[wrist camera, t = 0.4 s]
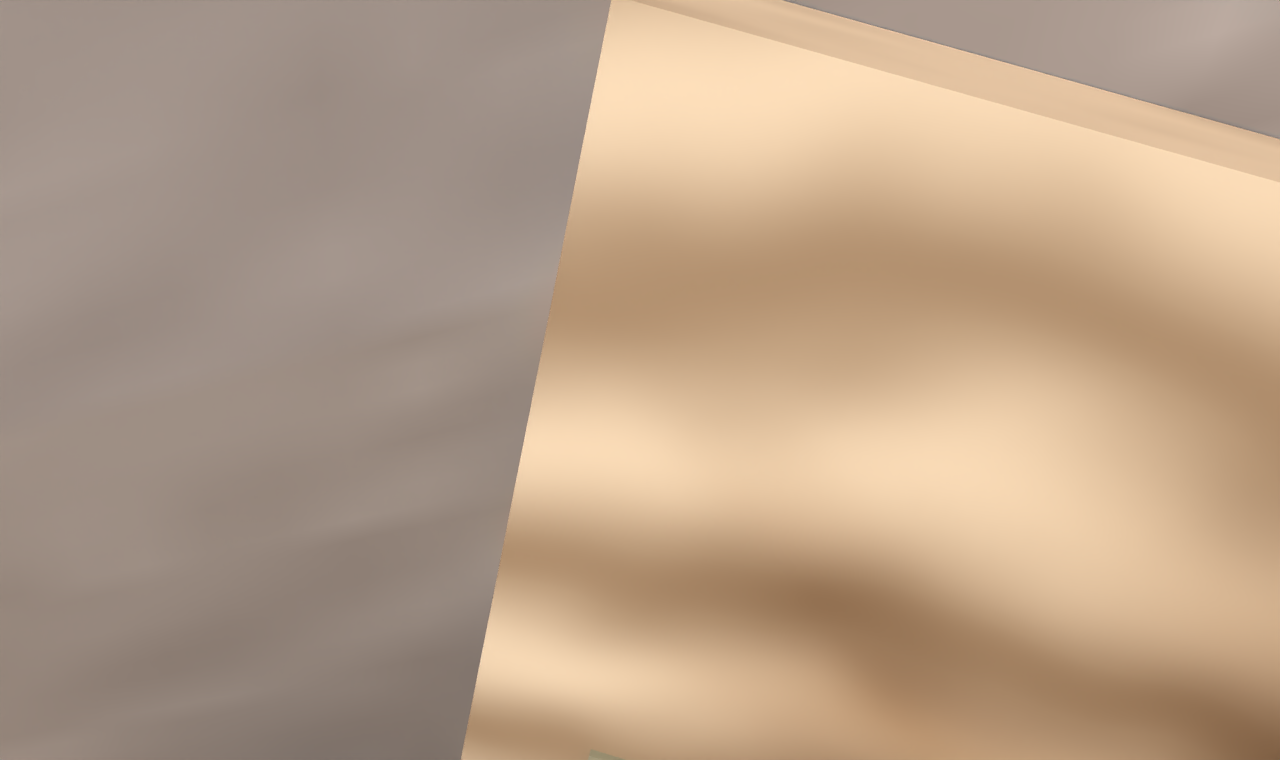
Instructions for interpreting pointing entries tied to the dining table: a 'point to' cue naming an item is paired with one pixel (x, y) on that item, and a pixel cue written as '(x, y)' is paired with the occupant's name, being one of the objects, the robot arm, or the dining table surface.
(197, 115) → the dining table surface
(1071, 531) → the stool board
